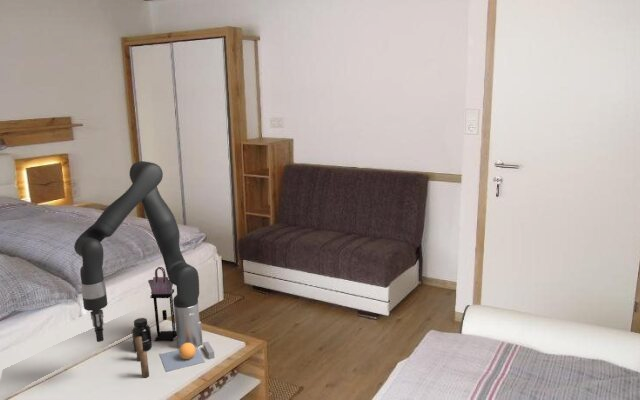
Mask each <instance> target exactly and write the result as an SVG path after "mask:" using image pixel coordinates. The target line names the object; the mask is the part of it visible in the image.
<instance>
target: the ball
mask: <svg viewBox="0 0 640 400" xmlns="http://www.w3.org/2000/svg"><path fill="white" fill-rule="evenodd" d="M178 350H179V354H180V356H181V357H182V358H183V359H191V358H192V357H193V356H194V355H195V352H196V349H195V346H194V345H193V344H192V343H184V344H183V345H182V346H181V347H180V348H178Z"/></svg>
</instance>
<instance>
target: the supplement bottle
mask: <svg viewBox="0 0 640 400" xmlns="http://www.w3.org/2000/svg"><path fill="white" fill-rule="evenodd" d="M131 336H132V344H133V347H132V348H133V351H134V352H136V344H135V337H138V336H141V337H142V345H143V351H146V352H148V351H150V350H152V346H153V345H152V330H151V327H150V325H149V324H148V319H147V318H145V317H139V318H137V319H135V320H134V321H133V327H132V329H131Z"/></svg>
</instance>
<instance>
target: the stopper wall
mask: <svg viewBox="0 0 640 400" xmlns="http://www.w3.org/2000/svg"><path fill="white" fill-rule="evenodd" d="M202 346H203V350H204V352H205V354H206V356H207V357H208V359H209V360H212V359H215V351H214V349H213V347H212V346H211V344H210V343H209V341H205V342H204V341H203V344H202Z"/></svg>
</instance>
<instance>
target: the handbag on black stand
mask: <svg viewBox="0 0 640 400" xmlns="http://www.w3.org/2000/svg"><path fill="white" fill-rule="evenodd" d="M158 270H160V271H162V276H158V272H159V271H158ZM147 282H148V284H149V287H150V294H151V295H150V297H149V298H150V299H153V307H154V317H155V319H154V320H155V327H156V328H155V329H156V336H155V338H154V339H153V340H154V342H173V341H174V340H175V339H176V338H177V335H176V324H175V313H174V302H173V299H174V297H173V294H174V292H175V290H176V289H175V288H174V289H173V285H174V284H173V283H171V281H170V280H169V278H168V276H167V273H166V269H165V268H164V267H163V266H158V267H157V268H156V269H155V271H154V277H152V279H148V280H147ZM158 299H169V304H170V306H169V307H170V315H171V317H170V318H171V327H172V328H171V329H172V330H160V322H159V321H160V319H159V312H158V311H159V310H158V302H157V300H158ZM161 312H162V321H166V320H167V319H168V317H167V316H168V315H167V309H162V311H161Z"/></svg>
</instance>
